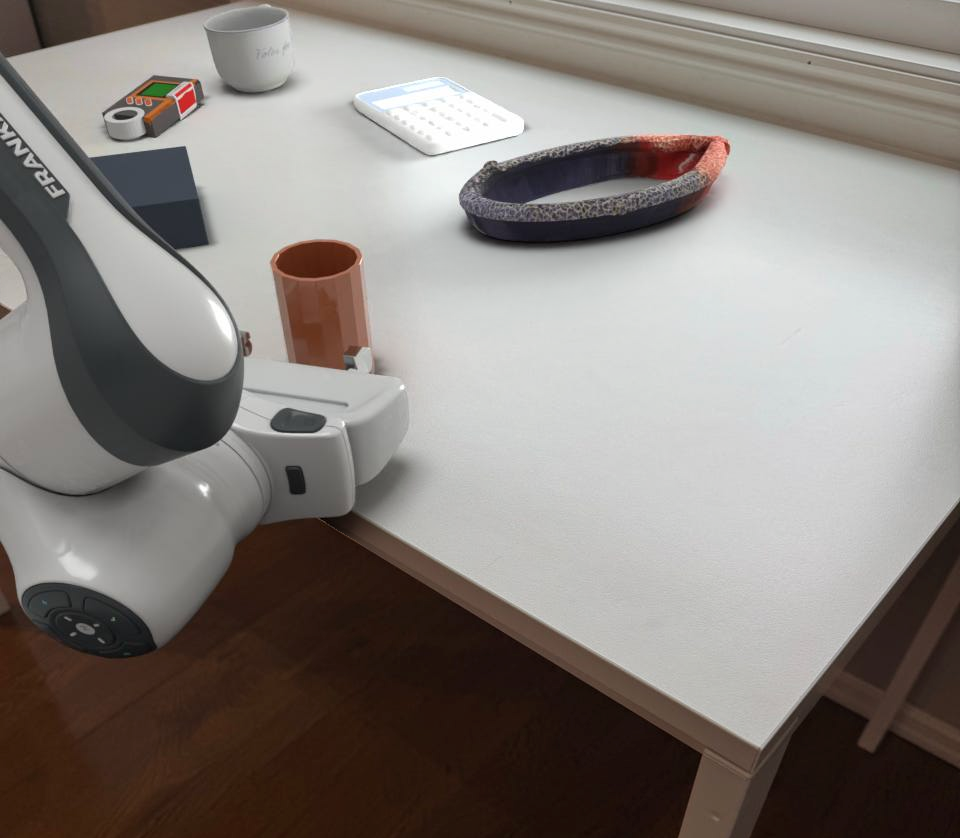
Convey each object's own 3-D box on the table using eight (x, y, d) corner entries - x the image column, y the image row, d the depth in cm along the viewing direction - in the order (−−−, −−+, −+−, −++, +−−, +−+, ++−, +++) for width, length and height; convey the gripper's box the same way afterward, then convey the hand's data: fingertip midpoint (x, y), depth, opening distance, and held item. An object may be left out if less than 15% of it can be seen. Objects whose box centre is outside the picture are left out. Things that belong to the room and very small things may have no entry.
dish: (432, 212, 99) (429, 161, 96) (686, 160, 108) (692, 111, 104) (496, 274, 89) (496, 220, 86) (770, 211, 98) (781, 160, 94)
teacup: (273, 103, 123) (262, 30, 117) (200, 94, 125) (185, 23, 120) (323, 69, 132) (315, 1, 126) (253, 62, 134) (242, -5, 129)
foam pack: (104, 265, 92) (88, 212, 88) (100, 207, 101) (85, 157, 98) (210, 250, 94) (198, 198, 90) (196, 195, 103) (185, 145, 100)
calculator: (428, 158, 109) (428, 140, 108) (350, 108, 121) (349, 91, 120) (527, 134, 114) (527, 117, 112) (443, 88, 126) (442, 72, 124)
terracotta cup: (299, 410, 74) (277, 286, 67) (286, 366, 79) (264, 246, 72) (383, 395, 76) (370, 272, 68) (365, 353, 80) (351, 233, 73)
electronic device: (89, 117, 113) (154, 70, 122) (98, 143, 115) (160, 96, 125) (140, 122, 112) (201, 75, 121) (147, 149, 114) (207, 100, 123)
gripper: (87, 471, 66) (182, 367, 75) (371, 519, 62) (435, 403, 71) (57, 390, 61) (162, 289, 70) (361, 437, 57) (430, 323, 66)
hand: (301, 346), depth 71 cm, fingers open, 8 cm apart
